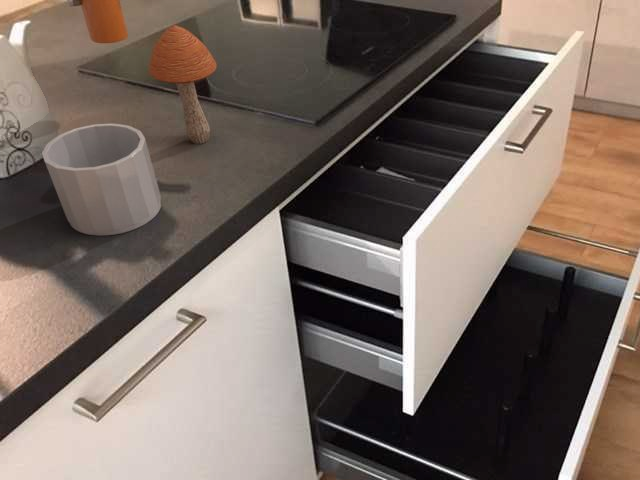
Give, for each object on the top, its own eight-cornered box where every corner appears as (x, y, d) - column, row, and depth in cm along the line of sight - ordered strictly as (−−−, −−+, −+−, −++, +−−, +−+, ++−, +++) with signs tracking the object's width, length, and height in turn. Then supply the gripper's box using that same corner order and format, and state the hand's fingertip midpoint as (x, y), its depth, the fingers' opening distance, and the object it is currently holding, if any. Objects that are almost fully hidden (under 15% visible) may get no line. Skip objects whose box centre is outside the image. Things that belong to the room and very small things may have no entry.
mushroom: (185, 163, 82) (157, 42, 72) (156, 139, 86) (126, 22, 76) (241, 143, 86) (221, 26, 76) (210, 122, 90) (188, 8, 80)
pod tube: (94, 46, 86) (73, -28, 80) (87, 34, 89) (66, -38, 83) (132, 40, 88) (114, -33, 82) (123, 28, 91) (106, -42, 85)
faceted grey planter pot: (77, 246, 69) (51, 179, 63) (60, 200, 75) (35, 136, 70) (172, 219, 72) (155, 154, 67) (148, 178, 79) (131, 116, 74)
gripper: (-32, -112, 78) (8, -2, 78) (142, -123, 86) (179, -24, 86) (-21, -77, 84) (17, 25, 84) (142, -91, 92) (176, 2, 92)
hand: (100, 0), depth 85 cm, fingers closed on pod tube, 5 cm apart
